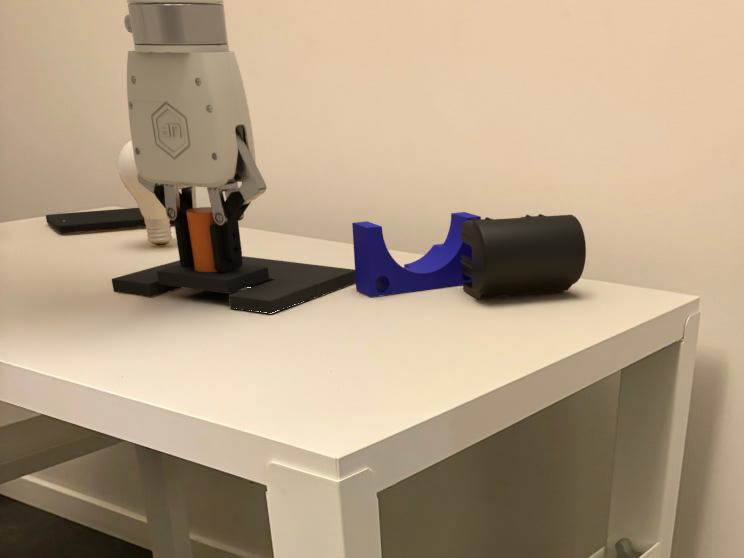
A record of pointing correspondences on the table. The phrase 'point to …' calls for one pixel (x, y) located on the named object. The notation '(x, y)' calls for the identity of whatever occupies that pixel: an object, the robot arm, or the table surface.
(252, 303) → the big pad
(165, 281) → the small pad
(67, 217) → the cell phone
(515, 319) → the table surface
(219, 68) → the robot arm
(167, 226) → the lightbulb
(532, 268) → the end cap
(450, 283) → the blue pipe cradle
